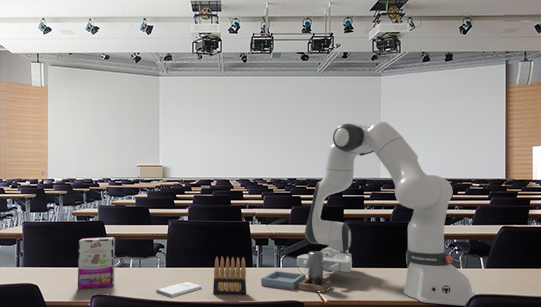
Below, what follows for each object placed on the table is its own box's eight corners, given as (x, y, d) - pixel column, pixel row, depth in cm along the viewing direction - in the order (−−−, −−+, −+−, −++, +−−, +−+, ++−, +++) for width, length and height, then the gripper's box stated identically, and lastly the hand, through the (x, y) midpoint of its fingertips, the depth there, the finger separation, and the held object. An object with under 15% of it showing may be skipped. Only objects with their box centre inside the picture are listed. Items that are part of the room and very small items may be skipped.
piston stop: (324, 286, 133) (324, 251, 134) (320, 290, 128) (320, 254, 129) (311, 285, 135) (311, 250, 136) (306, 288, 131) (306, 253, 131)
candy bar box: (114, 283, 136) (115, 236, 137) (112, 287, 131) (113, 238, 132) (80, 285, 133) (81, 237, 134) (76, 289, 128) (78, 240, 129)
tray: (305, 281, 140) (305, 274, 140) (293, 290, 129) (293, 282, 129) (275, 277, 145) (275, 270, 145) (261, 285, 134) (261, 278, 134)
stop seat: (330, 287, 133) (330, 281, 133) (324, 293, 126) (324, 287, 126) (306, 283, 136) (306, 278, 136) (298, 289, 130) (298, 283, 130)
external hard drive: (156, 294, 126) (186, 285, 135) (171, 299, 121) (201, 290, 130) (156, 289, 126) (186, 281, 135) (171, 294, 121) (201, 285, 130)
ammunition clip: (246, 293, 125) (246, 256, 126) (245, 295, 123) (245, 257, 124) (214, 292, 126) (214, 255, 126) (212, 294, 124) (213, 257, 125)
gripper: (303, 248, 151) (290, 255, 139) (355, 253, 143) (346, 261, 130) (303, 265, 151) (290, 273, 138) (355, 270, 142) (346, 279, 130)
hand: (317, 267), depth 134 cm, fingers open, 8 cm apart
